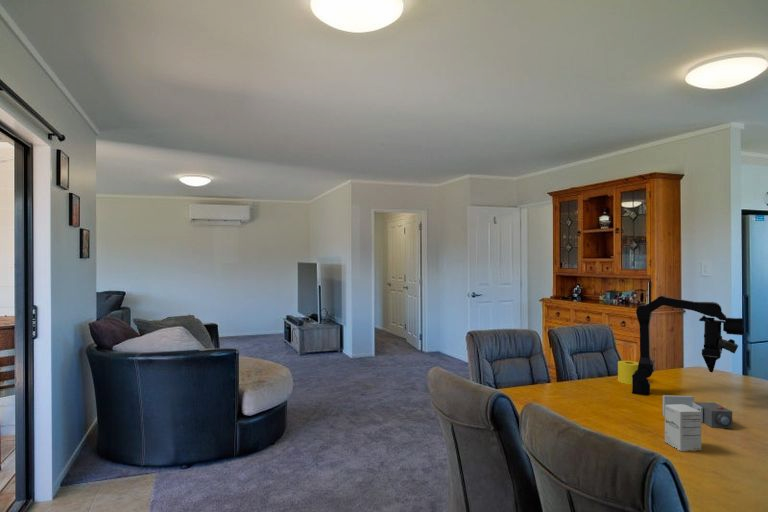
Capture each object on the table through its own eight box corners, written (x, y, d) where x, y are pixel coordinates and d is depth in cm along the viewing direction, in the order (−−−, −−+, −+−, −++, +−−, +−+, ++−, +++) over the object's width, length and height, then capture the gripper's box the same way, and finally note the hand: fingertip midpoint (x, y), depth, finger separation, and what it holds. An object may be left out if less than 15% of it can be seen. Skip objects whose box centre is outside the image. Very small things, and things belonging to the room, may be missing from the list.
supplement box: (663, 442, 152) (663, 404, 153) (685, 441, 153) (685, 403, 153) (680, 452, 145) (680, 411, 145) (702, 451, 146) (702, 411, 146)
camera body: (695, 417, 176) (695, 400, 176) (714, 418, 175) (714, 401, 175) (714, 429, 164) (714, 410, 164) (735, 430, 163) (735, 411, 163)
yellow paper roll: (613, 380, 230) (613, 361, 230) (628, 378, 233) (628, 359, 233) (630, 385, 220) (630, 365, 220) (645, 383, 224) (645, 364, 224)
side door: (662, 415, 178) (662, 395, 178) (692, 416, 177) (692, 396, 177) (671, 421, 171) (671, 400, 171) (702, 422, 170) (702, 401, 170)
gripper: (736, 338, 181) (735, 378, 181) (737, 332, 195) (736, 369, 195) (701, 334, 187) (701, 373, 188) (705, 329, 202) (704, 364, 202)
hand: (711, 370), depth 193 cm, fingers open, 9 cm apart
